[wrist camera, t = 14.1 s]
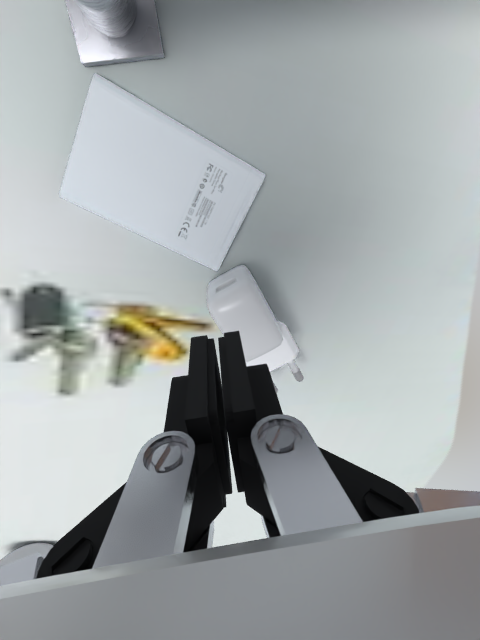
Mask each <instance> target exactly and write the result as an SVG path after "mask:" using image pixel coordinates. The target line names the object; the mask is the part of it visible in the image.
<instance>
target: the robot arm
mask: <svg viewBox="0 0 480 640" xmlns="http://www.w3.org/2000/svg"><path fill="white" fill-rule="evenodd" d="M218 341H219V353H220V366H221V378H220V373H219V367H218V361H217V355H216V349H215V343H214V339H208V337H207V335H206V336H199V337H192V338H191V346H190V359H189V372H188V375H187V376H180V377H173V378H172V381H171V388H170V395H169V401H168V408H167V414H166V421H165V428H164V433H161V434H159V435H156V436H155V437H153V438H152V439H150V440H148V442H147V443H146V444H145V445H144V446H143V447H142V448H141V450H140V452H139V453H138V455H137V458H136V460H135V463H134V465H133V468H132V470H131V473H130V475H129V478H128V480H127V482H126V483H125V484H124V485H123V486H121V487H120V488H119V489H118V490H117V491H116V492H115V493H113V494H112V495H111V496H110V497H109V498H108V499H106V500H105V501H104V502H103V503H102V504H101V505H99V506H98V507H97V508H96V509H95V510H94V511H93V512H91V513H90V514H89V515H88V516H87V517H86V518H84V519H83V520H82V521H81V522H80V523H79V524H78V525H76V526H75V527H74V528H73V529H72V530H71V531H69V532H68V533H67V534H66V535H65V536H64V537H62V538H61V539H60V540H59V541H58V542H57V543H56V544H55V545H54V546H53V547H52V548H51V549H50V551H49V552H48V554H46V555H43V556H41V554H40V553H39V552H37V553H34V554H32V555H29V556H27V557H24V558H22V559H19V560H17V561H14V562H11V563H9V564H6V565H4V566H1V567H0V640H480V492H477V491H458V490H441V489H424V488H415V493H410V492H405V491H404V490H403V489H401V488H399V487H398V486H396V485H395V484H393V483H391V482H389V481H387V480H385V479H383V478H381V477H379V476H377V475H375V474H373V473H371V472H369V471H367V470H365V469H363V468H360V467H358V466H356V465H354V464H352V463H350V462H348V461H346V460H344V459H342V458H340V457H338V456H336V455H334V454H332V453H330V452H328V451H326V450H324V449H322V448H320V447H318V446H317V445H316V443H315V442H314V440H313V438H312V437H311V435H310V433H309V432H308V430H307V428H306V427H305V426H304V425H303V423H302V422H301V421H299V420H298V419H296V418H294V417H291V416H288V415H283V413H282V410H281V407H280V404H279V401H278V397H277V394H276V391H275V388H274V384H273V381H272V378H271V375H270V372H269V368H268V365H267V364H260V365H253V366H247V367H246V362H245V357H244V352H243V347H242V342H241V338H240V333H239V331H233V332H226V333H224V337H220V338H218ZM221 379H222V384H221ZM227 432H228V436H227ZM228 438H229V444H230V450H231V455H232V461H233V467H234V472H235V478H236V484H237V490H238V492H244V491H245V497H246V503H247V505H248V506H250V507H251V508H252V509H254V510H255V511H257V512H258V513H259V514H261V518H262V523H263V526H264V530H265V533H266V536H267V538H266V539H260V540H254V541H248V542H242V543H236V544H231V545H225V546H219V547H213V548H212V544H213V535H214V521H213V520H214V519H215V518H216V517H217V515H218V514H219V513H220V512H221V511H222V509H223V508H224V507H226V494H232V483H231V471H230V459H229V447H228Z"/></svg>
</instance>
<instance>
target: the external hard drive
mask: <svg viewBox="0 0 480 640" xmlns="http://www.w3.org/2000/svg"><path fill="white" fill-rule="evenodd" d="M265 176H266V174H264V173H262V172H261V171H259V170H258V169H256V168H254V167H252V166H251V165H249V164H248V163H246V162H244V161H243V160H241V159H239V158H238V157H236V156H234V155H233V154H231V153H229V152H228V151H226V150H224V149H223V148H221V147H219V146H218V145H216V144H214V143H213V142H211V141H209V140H208V139H206V138H204V137H203V136H201V135H199V134H198V133H196V132H194V131H193V130H191V129H189V128H188V127H186V126H184V125H183V124H181V123H179V122H178V121H176V120H174V119H173V118H171V117H169V116H168V115H166V114H164V113H163V112H161V111H159V110H158V109H156V108H154V107H153V106H151V105H149V104H148V103H146V102H144V101H143V100H141V99H139V98H137V97H136V96H134V95H132V94H131V93H129V92H127V91H125V90H124V89H122V88H121V87H119V86H117V85H116V84H114V83H112V82H111V81H109V80H107V79H105V78H104V77H102V76H100V75H99V74H97V73H94V74H93V77H92V79H91V82H90V86H89V89H88V93H87V96H86V100H85V103H84V107H83V110H82V114H81V117H80V121H79V124H78V128H77V131H76V135H75V138H74V142H73V146H72V148H71V152H70V156H69V159H68V163H67V166H66V170H65V173H64V177H63V180H62V184H61V188H60V191H59V197H60V198H62V199H64V200H67V201H69V202H71V203H73V204H75V205H77V206H79V207H81V208H83V209H85V210H88V211H90V212H92V213H94V214H96V215H98V216H100V217H102V218H104V219H107V220H109V221H111V222H113V223H115V224H117V225H119V226H121V227H123V228H126V229H128V230H130V231H132V232H134V233H136V234H138V235H140V236H143V237H145V238H147V239H149V240H151V241H153V242H155V243H157V244H159V245H161V246H164V247H166V248H168V249H170V250H172V251H174V252H176V253H178V254H181V255H183V256H185V257H187V258H189V259H191V260H193V261H195V262H197V263H200V264H202V265H204V266H206V267H208V268H210V269H212V270H214V271H216V272H217V271H218V270H219V268H220V266H221V264H222V262H223V260H224V258H225V256H226V254H227V252H228V250H229V248H230V246H231V244H232V242H233V240H234V238H235V236H236V234H237V232H238V230H239V228H240V226H241V224H242V222H243V220H244V218H245V216H246V214H247V212H248V210H249V208H250V207H251V205H252V203H253V201H254V199H255V197H256V195H257V193H258V191H259V189H260V187H261V185H262V183H263V181H264V179H265Z"/></svg>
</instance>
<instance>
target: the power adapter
mask: <svg viewBox="0 0 480 640" xmlns="http://www.w3.org/2000/svg"><path fill="white" fill-rule="evenodd" d="M207 307H208V310H209V313H210V315H211V316H212V318H213V320H214V321H215V323H216V324H217V326H218V327H219V329H220V330H221V332H222V334H223V335H224V333H226V332H233V331H239V333H240V338H241V342H242V347H243V352H244V357H245V362H246V367H247V366H253V365H260V364H267V365H268V368H269V372H271V371H273V370H275V369H277V368H279V367H281V366H283V365H284V364H286V363H287V364H288V366H289V367H290V369H291V371H292V373H293V375H294V377H295V379H296V380H297V381H299V382H300V381H302V380H303V379H304V377H303V375H302V373H301V371H300V369H299V368H298V367H297V365H296V363H295V361H294V359H295V358H296V357H297V355H298V353H299V348H298V346H297V344H296V343H295V341H294V339H293V337H292V335H291V333H290V332H289V330H288V328H287V326H286V325H285V324H284V323H283V322H279V321H276V318H275V316H274V314H273V312H272V310H271V308H270V306H269V305H268V303H267V301H266V299H265V297H264V295H263V294H262V292H261V290H260V288H259V286H258V285H257V283H256V281H255V279H254V277H253V276H252V274H251V272H250V271H249V269H248V268H247V267H246V266H245V265H239V266H237V267H234V268H233V269H231V270H229V271H227V272H225V273H223V274H222V275H220V276H218V277H217V278H215V279H213V280H212V281H210V282H209V284H208V286H207ZM273 384H274V383H273ZM274 388H275V391H276V393H277V391H278V389H277V388H276V386H275V384H274Z"/></svg>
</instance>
